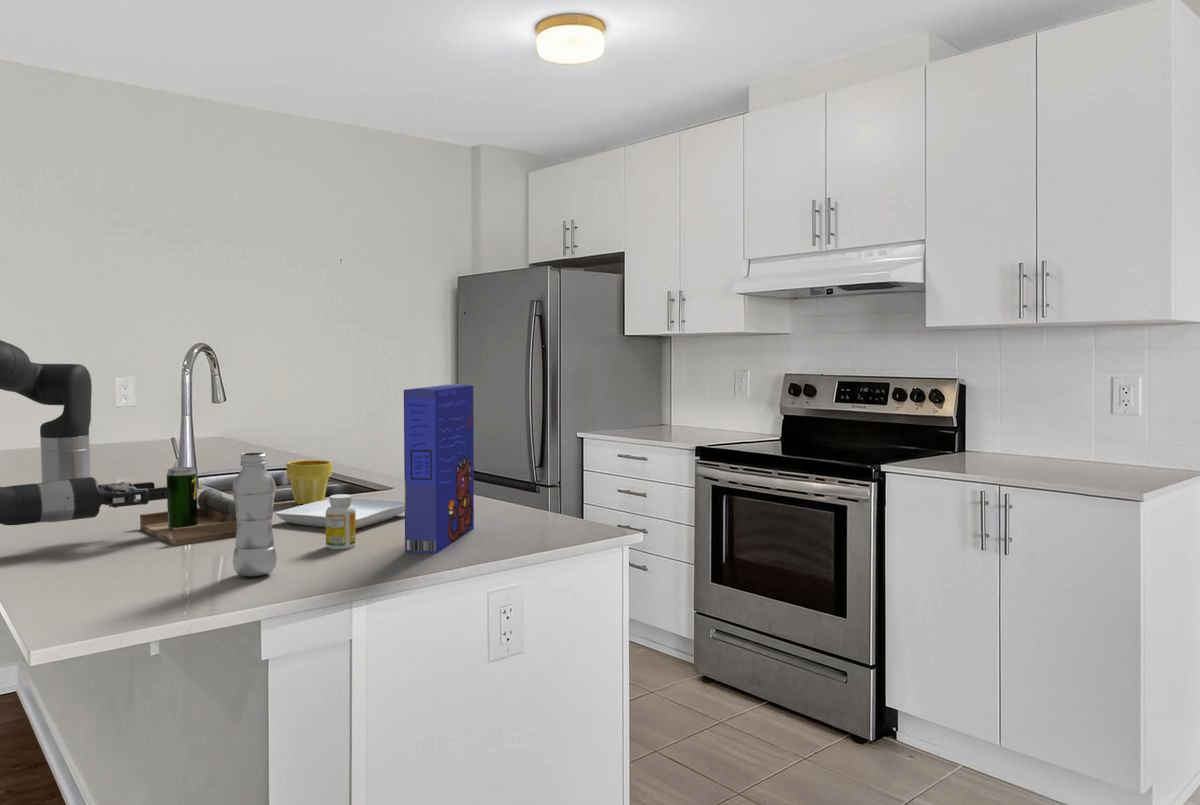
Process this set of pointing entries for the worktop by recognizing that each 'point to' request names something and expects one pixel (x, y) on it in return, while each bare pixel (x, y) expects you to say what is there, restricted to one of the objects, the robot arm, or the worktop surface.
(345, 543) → the supplement bottle
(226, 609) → the worktop surface
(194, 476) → the beer can
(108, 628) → the worktop surface
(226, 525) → the bay
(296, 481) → the plant pot
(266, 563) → the plastic bottle
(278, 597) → the worktop surface
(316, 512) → the salad plate
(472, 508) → the cereal box
